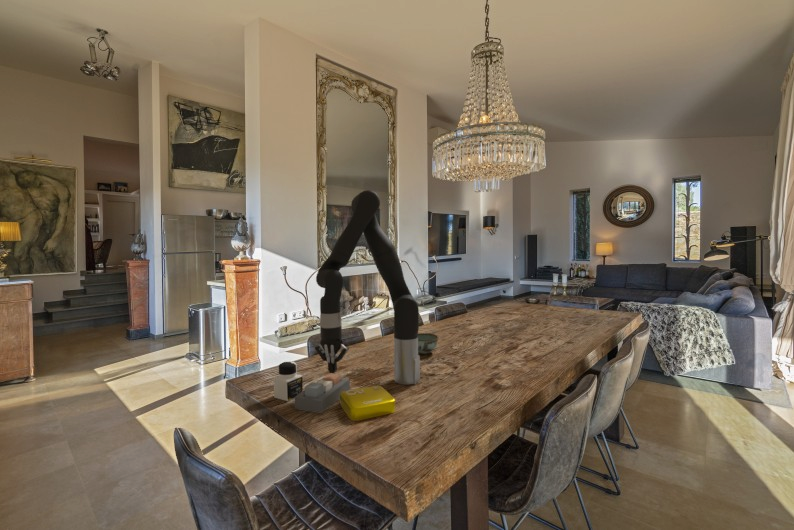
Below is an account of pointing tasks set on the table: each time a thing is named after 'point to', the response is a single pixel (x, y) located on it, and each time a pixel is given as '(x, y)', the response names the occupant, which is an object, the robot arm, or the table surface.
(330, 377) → the terracotta key
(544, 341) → the table surface
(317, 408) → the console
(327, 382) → the ivory key
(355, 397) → the element tile
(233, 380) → the table surface
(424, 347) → the bowl
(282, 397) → the medicine bottle
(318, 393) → the slate key
